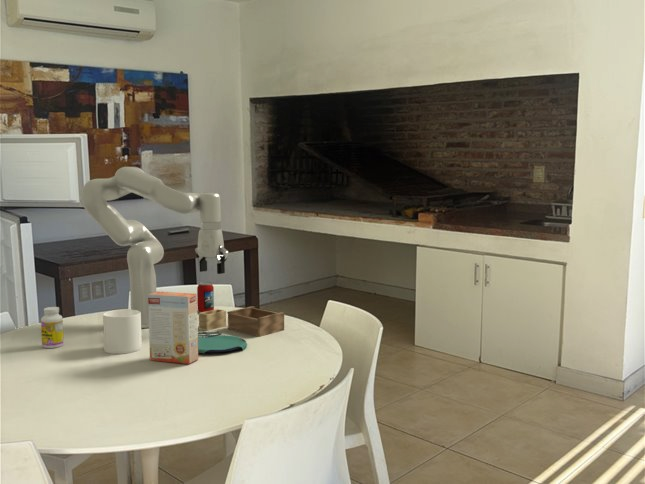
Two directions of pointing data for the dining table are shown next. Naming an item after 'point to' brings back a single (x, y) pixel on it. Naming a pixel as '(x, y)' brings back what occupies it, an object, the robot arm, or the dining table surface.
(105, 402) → the dining table surface
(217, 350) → the cutlery set
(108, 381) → the dining table surface
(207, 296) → the beverage can
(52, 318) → the supplement bottle
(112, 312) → the cup
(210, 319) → the oak crate
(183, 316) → the cracker box
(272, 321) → the walnut crate
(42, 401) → the dining table surface
